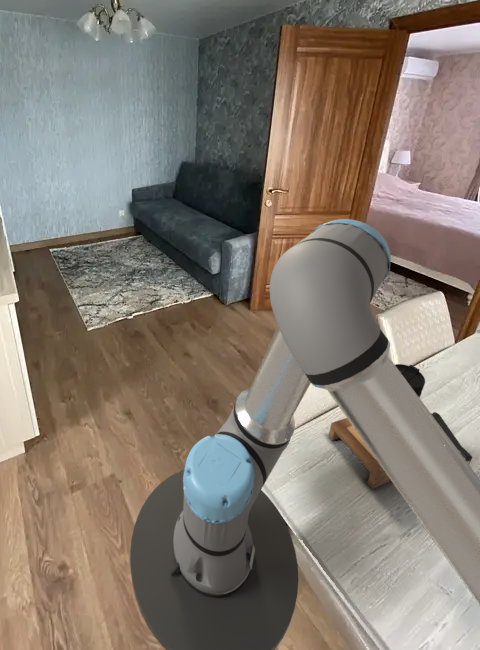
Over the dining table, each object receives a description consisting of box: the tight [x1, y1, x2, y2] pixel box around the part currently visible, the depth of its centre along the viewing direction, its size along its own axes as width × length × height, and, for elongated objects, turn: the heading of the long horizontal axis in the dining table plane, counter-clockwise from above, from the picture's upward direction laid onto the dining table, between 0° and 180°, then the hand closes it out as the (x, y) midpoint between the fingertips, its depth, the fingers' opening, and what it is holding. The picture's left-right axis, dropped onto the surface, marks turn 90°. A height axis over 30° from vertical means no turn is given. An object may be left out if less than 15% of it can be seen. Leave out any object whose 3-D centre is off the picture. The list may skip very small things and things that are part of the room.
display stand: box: [327, 417, 392, 490], centre depth 85 cm, size 14×14×5 cm
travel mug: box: [394, 363, 426, 399], centre depth 72 cm, size 6×7×20 cm
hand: (383, 388), depth 77 cm, fingers closed on travel mug, 6 cm apart
